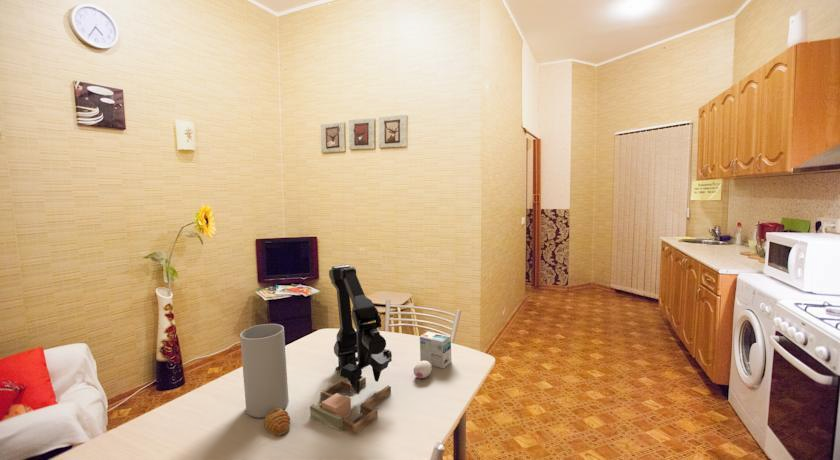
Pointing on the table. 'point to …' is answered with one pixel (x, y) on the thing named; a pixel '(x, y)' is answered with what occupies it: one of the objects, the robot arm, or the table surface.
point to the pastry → (277, 422)
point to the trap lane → (341, 423)
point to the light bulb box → (435, 349)
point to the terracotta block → (338, 405)
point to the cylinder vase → (264, 369)
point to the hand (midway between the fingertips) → (367, 387)
